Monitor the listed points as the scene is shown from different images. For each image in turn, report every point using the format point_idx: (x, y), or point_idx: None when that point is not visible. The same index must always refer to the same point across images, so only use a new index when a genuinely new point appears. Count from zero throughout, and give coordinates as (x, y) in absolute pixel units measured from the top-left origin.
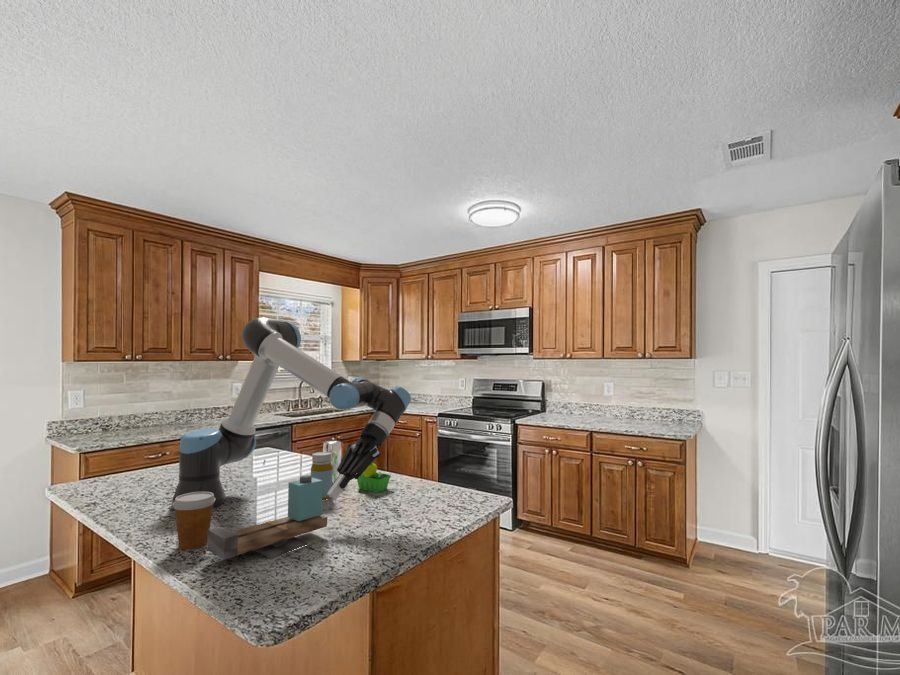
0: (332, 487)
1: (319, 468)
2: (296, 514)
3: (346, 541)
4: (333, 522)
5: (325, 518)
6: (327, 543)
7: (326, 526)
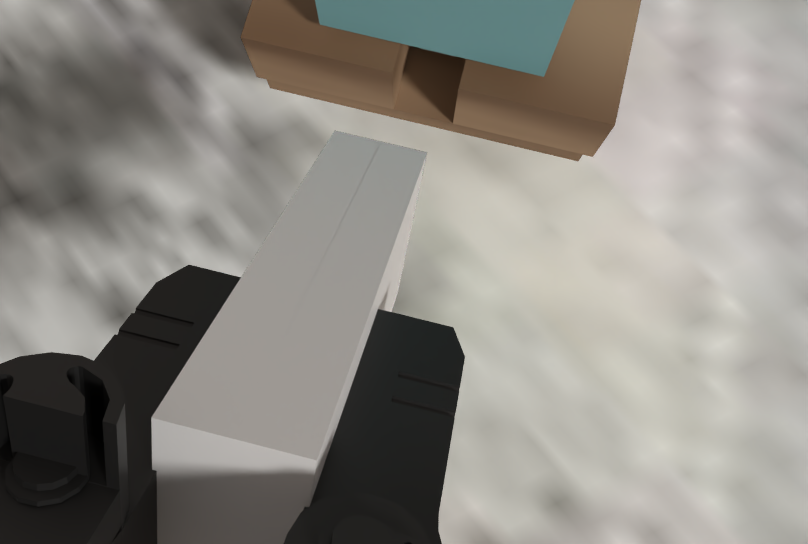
0: (369, 209)
1: None
2: None
3: (43, 108)
4: (478, 457)
5: (250, 18)
6: (171, 7)
7: (269, 83)
